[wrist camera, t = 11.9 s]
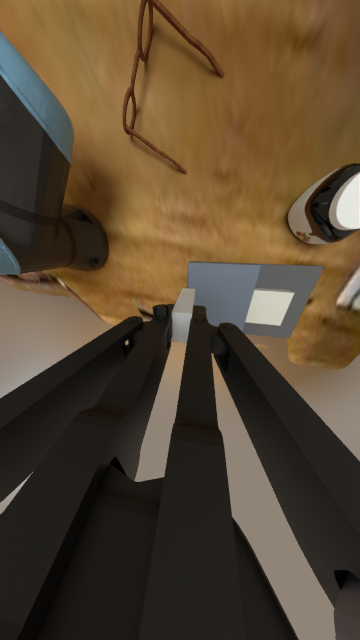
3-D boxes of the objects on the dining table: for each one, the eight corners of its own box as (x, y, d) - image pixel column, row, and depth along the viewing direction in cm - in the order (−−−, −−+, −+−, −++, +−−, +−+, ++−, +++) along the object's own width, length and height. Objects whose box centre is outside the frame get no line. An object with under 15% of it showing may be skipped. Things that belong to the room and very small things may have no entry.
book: (186, 327, 45) (185, 333, 41) (190, 261, 35) (188, 262, 32) (237, 332, 42) (240, 339, 39) (255, 263, 33) (261, 265, 30)
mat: (238, 332, 42) (238, 333, 42) (256, 263, 33) (257, 263, 33) (288, 337, 40) (289, 338, 40) (322, 266, 31) (324, 266, 31)
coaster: (242, 318, 40) (245, 322, 37) (251, 287, 35) (254, 290, 33) (275, 321, 38) (280, 325, 36) (288, 290, 34) (294, 292, 32)
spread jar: (276, 216, 29) (316, 197, 18) (338, 153, 24) (440, 79, 13) (308, 256, 31) (359, 260, 21) (371, 207, 26) (479, 180, 16)
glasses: (153, 23, 21) (139, -36, 17) (224, 76, 22) (228, 34, 18) (129, 140, 27) (115, 119, 23) (185, 177, 28) (182, 163, 24)
